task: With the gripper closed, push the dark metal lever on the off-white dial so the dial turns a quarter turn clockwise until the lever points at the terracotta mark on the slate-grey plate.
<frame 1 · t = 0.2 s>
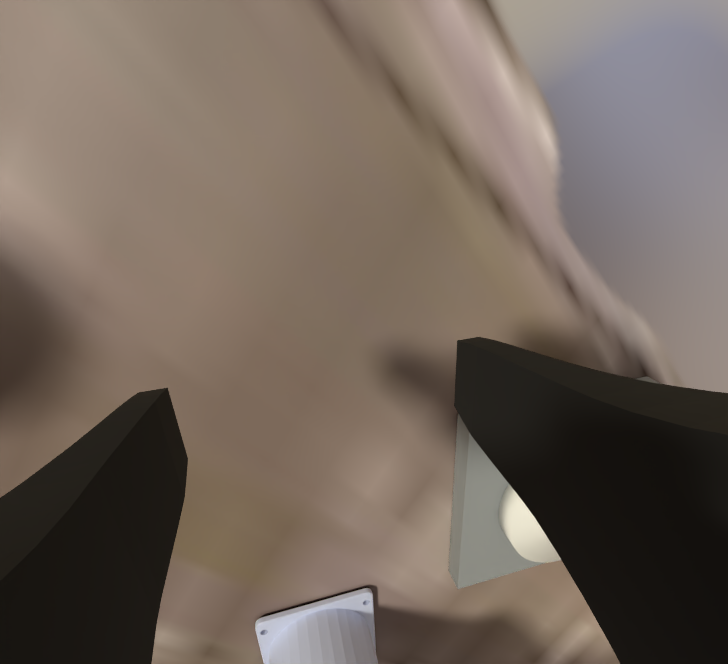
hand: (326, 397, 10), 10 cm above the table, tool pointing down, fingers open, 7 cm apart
dial: (569, 509, 25), point 3 cm above the table, hinge at 45.0°
dial plate: (543, 477, 29), on the table
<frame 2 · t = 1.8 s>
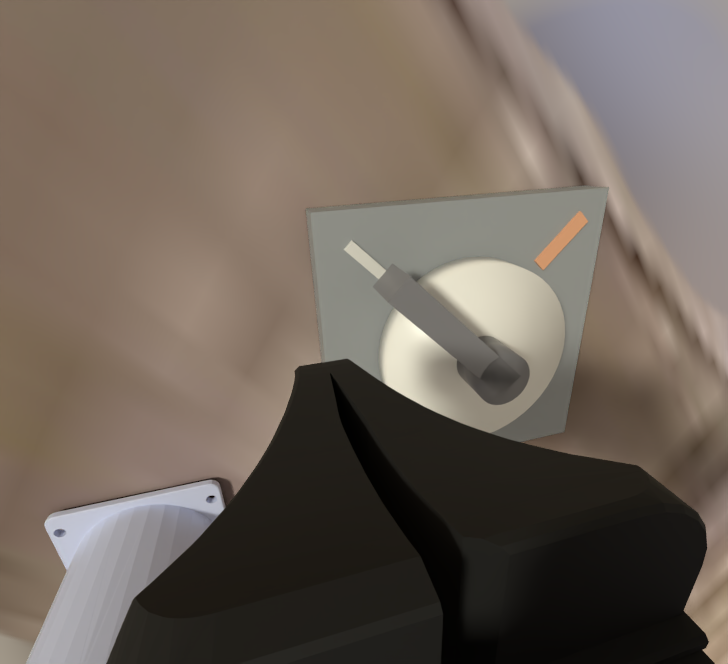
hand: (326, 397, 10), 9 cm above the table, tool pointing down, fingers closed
dial: (469, 350, 18), point 3 cm above the table, hinge at 45.0°
dial plate: (450, 334, 22), on the table
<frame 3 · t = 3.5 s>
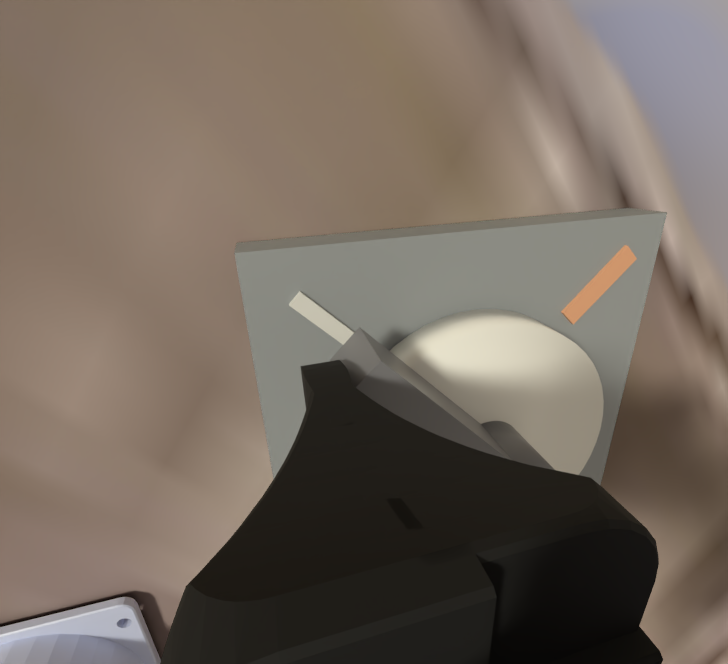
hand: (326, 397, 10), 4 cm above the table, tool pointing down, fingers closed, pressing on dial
dial: (472, 442, 13), point 3 cm above the table, hinge at 44.0°, touching gripper
dial plate: (446, 402, 16), on the table
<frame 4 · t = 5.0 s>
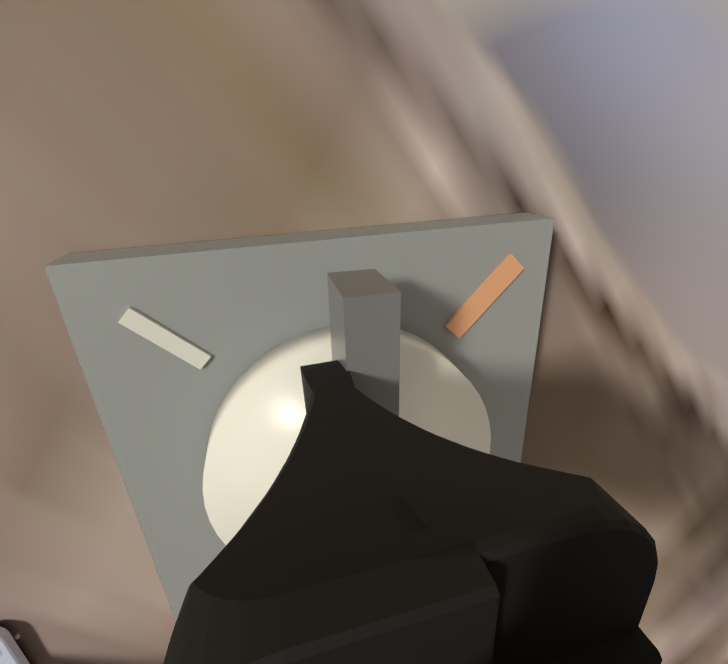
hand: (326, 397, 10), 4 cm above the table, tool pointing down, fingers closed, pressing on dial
dial: (359, 455, 12), point 3 cm above the table, hinge at -1.5°, touching gripper
dial plate: (339, 419, 15), on the table
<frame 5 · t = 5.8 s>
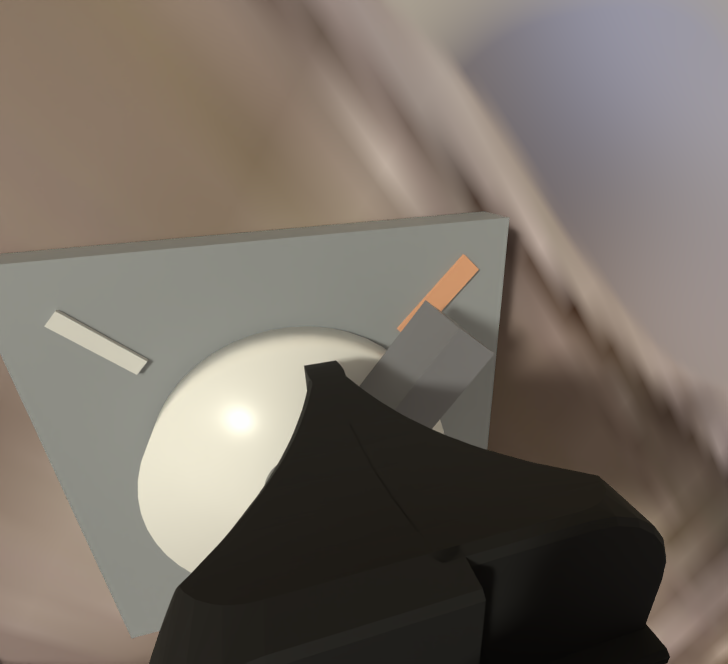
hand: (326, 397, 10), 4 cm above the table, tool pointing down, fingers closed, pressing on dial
dial: (326, 466, 12), point 3 cm above the table, hinge at -40.2°, touching gripper
dial plate: (296, 424, 15), on the table
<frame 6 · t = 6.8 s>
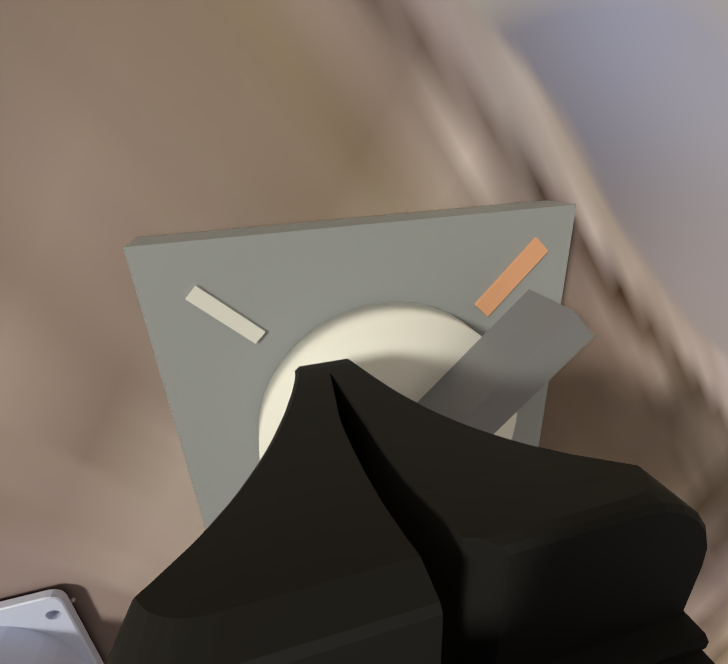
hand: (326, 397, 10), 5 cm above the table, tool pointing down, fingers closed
dial: (420, 426, 13), point 3 cm above the table, hinge at -47.3°
dial plate: (372, 394, 16), on the table
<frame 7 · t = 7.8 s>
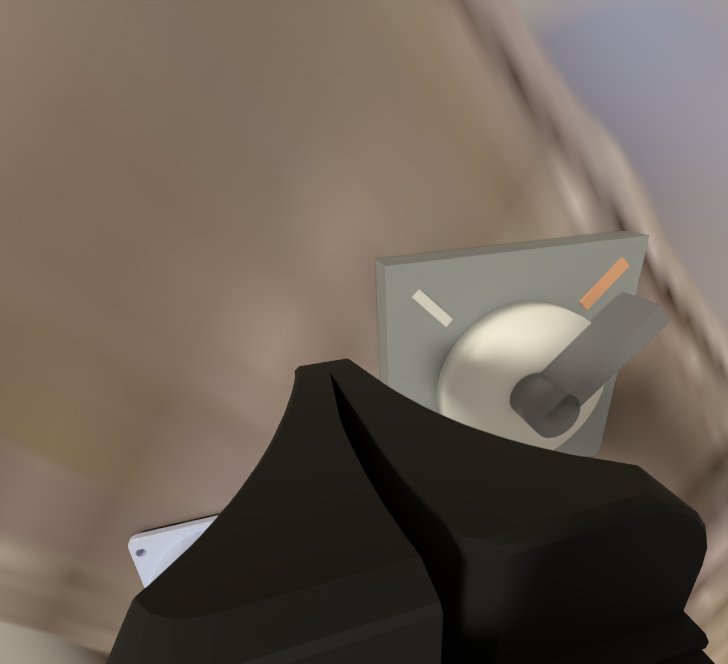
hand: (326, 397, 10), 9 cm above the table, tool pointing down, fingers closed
dial: (548, 382, 20), point 3 cm above the table, hinge at -47.4°
dial plate: (497, 366, 23), on the table
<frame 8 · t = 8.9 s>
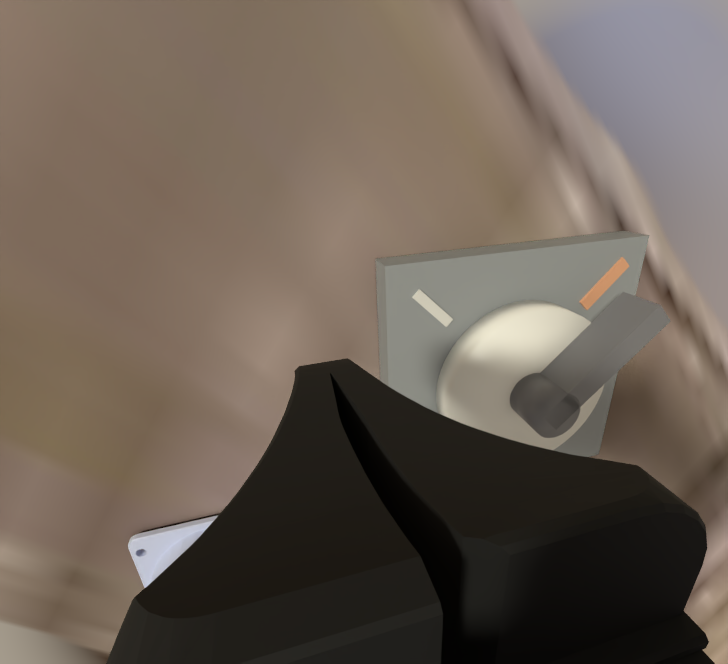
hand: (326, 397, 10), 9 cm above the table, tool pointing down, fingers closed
dial: (548, 382, 20), point 3 cm above the table, hinge at -47.4°
dial plate: (497, 366, 23), on the table
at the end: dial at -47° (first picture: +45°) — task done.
